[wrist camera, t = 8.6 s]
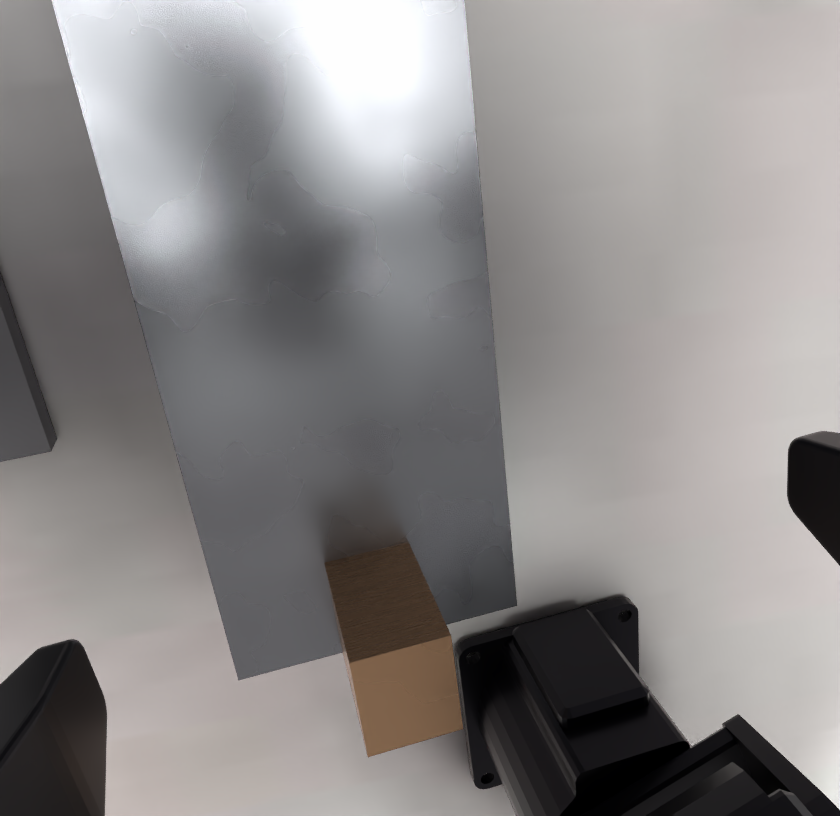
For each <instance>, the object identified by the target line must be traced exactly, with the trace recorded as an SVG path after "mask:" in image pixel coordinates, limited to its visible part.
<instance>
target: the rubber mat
mask: <svg viewBox="0 0 840 816" xmlns="http://www.w3.org/2000/svg"><path fill="white" fill-rule="evenodd" d="M56 440H57V438H56V435H55V432H54V429H53V426H52V423H51V420H50V417H49V414H48V411H47V408H46V405H45V402H44V400H43V397H42V394H41V391H40V388H39V385H38V382H37V379H36V376H35V373H34V370H33V367H32V364H31V361H30V358H29V356H28V353H27V350H26V347H25V344H24V341H23V338H22V335H21V332H20V329H19V326H18V323H17V320H16V317H15V314H14V312H13V309H12V306H11V303H10V300H9V297H8V294H7V291H6V288H5V285H4V282H3V279H2V276H1V273H0V462H2V461H6V460H11V459H16V458H21V457H26V456H31V455H36V454H41V453H46V452H50V451H52V448H53V446H54V444H55V442H56Z"/></svg>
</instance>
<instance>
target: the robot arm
mask: <svg viewBox="0 0 840 816" xmlns="http://www.w3.org/2000/svg"><path fill="white" fill-rule="evenodd" d="M787 497H788V501H789V504H790V507H791V509H792V510H793V512H794V513H795V515H796V516H797V517H798V518H799V519H800V521H801V522H802V523H803V524H804V525H805V526H806V527H807V529H808V530H809V531H810V532H811V533H812V534H813V535H814V537H815V538H816V539H817V540H818V541H819V542H820V544H821V545H822V546H823V547H824V548H825V549H826V550H827V552H828V553H829V554H830V555H831V556H832V557H833V558H834V560H835V561H836V562H837V563H838V564H839V565H840V433H835V432H827V431H821V432H815V433H812V434H808V435H805V436H801V437H798V438H796V439H794V440H793V441H792V442H791V444H790V446H789V449H788V476H787ZM624 610H625V611H624ZM622 611H624V613H623V614H621V615H619V614H620V613H621V612H622ZM471 652H476V653H475V654H474V655H472V656H470V657H467V655H468V654H469V653H471ZM455 656H456V664H457V671H458V679H459V687H460V695H461V702H462V710H463V718H464V725H465V733H466V741H467V749H468V756H469V764H470V772H471V776H472V778H473V781H474V783H475V786H476V787H478V788H479V789H488V788H492V787H495V786H498V785H501V784H503V786H504V788H505V790H506V793H507V795H508V797H509V800H510V802H511V804H512V807H513V809H514V811H515V814H516V816H840V810H839V809H838V808H837V807H836V806H835V805H834V804H833V803H832V802H831V801H830V800H829V799H828V798H827V797H826V796H825V795H824V794H823V793H822V792H821V791H820V790H819V789H818V788H817V787H816V786H815V785H814V784H813V783H812V782H811V781H810V780H808V779H807V778H806V777H805V776H804V775H803V774H802V773H801V772H800V771H799V770H798V769H797V768H796V767H795V766H793V765H792V764H791V763H790V762H789V761H788V760H787V759H786V758H785V757H784V756H783V755H782V754H781V753H780V752H778V751H777V750H776V749H775V748H774V747H773V746H772V745H771V744H770V743H769V742H768V741H767V740H766V739H764V738H763V737H762V736H761V735H760V734H759V733H758V732H757V731H756V730H755V729H754V728H753V727H752V726H751V725H749V724H748V723H747V722H746V721H745V720H744V719H743V718H742V717H741V716H740V715H739V714H737V715H736V716H734V717H733V718H731V719H729V720H728V721H726V722H724V723H723V724H722V725H723V728H721V729H720V730H718V731H717V732H715V733H713V734H712V735H710V736H708V737H707V738H705V739H704V740H702V741H700V742H699V743H697V744H695V745H694V746H691V745H690V743H689V742H688V741H687V739H686V738H685V737H684V735H683V734H682V733H681V731H680V730H679V729H678V727H677V726H676V725H675V723H674V722H673V721H672V719H671V718H670V717H669V715H668V714H667V713H666V711H665V710H664V709H663V707H662V706H661V705H660V703H659V702H658V701H657V699H656V698H655V697H654V695H653V694H652V693H651V691H650V690H649V689H648V687H647V685H646V684H645V683H644V681H643V680H642V679H641V677H640V676H639V638H638V609H637V607H636V606H635V605H634V604H633V603H632V601H631V600H630V599H629V598H626V597H619V598H615V599H611V600H608V601H604V602H600V603H597V604H593V605H589V606H586V607H582V608H578V609H575V610H571V611H567V612H564V613H560V614H556V615H553V616H549V617H545V618H542V619H538V620H534V621H531V622H527V623H523V624H520V625H516V626H512V627H509V628H505V629H501V630H498V631H494V632H490V633H487V634H483V635H479V636H476V637H472V638H468V639H466V640H464V641H462V642H461V643H460V644H459V645H458V646H457V648H456V652H455ZM106 738H107V710H106V703H105V699H104V695H103V693H102V690H101V688H100V685H99V683H98V680H97V678H96V676H95V673H94V671H93V668H92V666H91V664H90V661H89V659H88V656H87V654H86V652H85V649H84V647H83V646H82V645H81V643H80V642H79V641H77V640H75V639H70V640H66V641H62V642H59V643H55V644H52V645H48V646H44V647H41V648H39V649H37V650H36V651H35V652H34V653H33V654H32V655H31V656H30V657H29V658H28V659H27V660H25V661H24V662H23V663H22V664H21V665H20V666H19V667H18V668H17V669H16V670H15V671H14V672H13V673H12V674H11V675H10V676H9V677H8V678H7V679H6V680H4V681H3V682H2V683H1V684H0V816H105V783H106ZM486 773H487V774H486ZM484 774H485V775H484Z"/></svg>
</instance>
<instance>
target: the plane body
mask: <svg viewBox="0 0 840 816" xmlns="http://www.w3.org/2000/svg"><path fill="white" fill-rule="evenodd" d="M52 4H53V8H54V11H55V15H56V19H57V22H58V26H59V29H60V33H61V37H62V40H63V44H64V48H65V51H66V55H67V58H68V62H69V66H70V69H71V73H72V77H73V80H74V84H75V88H76V91H77V95H78V98H79V102H80V106H81V109H82V113H83V117H84V120H85V124H86V128H87V131H88V135H89V138H90V142H91V146H92V149H93V153H94V157H95V160H96V164H97V167H98V171H99V175H100V178H101V182H102V186H103V189H104V193H105V197H106V200H107V204H108V207H109V211H110V215H111V218H112V222H113V226H114V229H115V233H116V237H117V240H118V244H119V247H120V251H121V255H122V258H123V262H124V266H125V269H126V273H127V277H128V280H129V284H130V287H131V291H132V295H133V298H134V302H135V306H136V309H137V313H138V316H139V320H140V324H141V327H142V331H143V335H144V338H145V342H146V346H147V349H148V353H149V356H150V360H151V364H152V367H153V371H154V375H155V378H156V382H157V386H158V389H159V393H160V396H161V400H162V404H163V407H164V411H165V415H166V418H167V422H168V425H169V429H170V433H171V436H172V440H173V444H174V447H175V451H176V455H177V458H178V462H179V465H180V469H181V473H182V476H183V480H184V484H185V487H186V491H187V495H188V498H189V502H190V505H191V509H192V513H193V516H194V520H195V524H196V527H197V531H198V534H199V538H200V542H201V545H202V549H203V553H204V556H205V560H206V564H207V567H208V571H209V574H210V578H211V582H212V585H213V589H214V593H215V596H216V600H217V604H218V607H219V611H220V614H221V618H222V622H223V625H224V629H225V633H226V636H227V640H228V643H229V647H230V651H231V654H232V658H233V662H234V665H235V669H236V673H237V676H238V680H241V679H245V678H249V677H253V676H256V675H260V674H264V673H268V672H271V671H275V670H279V669H282V668H286V667H290V666H294V665H297V664H301V663H305V662H309V661H312V660H316V659H320V658H323V657H327V656H331V655H335V654H338V653H342V652H343V656H344V660H345V664H346V668H347V672H348V676H349V681H350V685H351V689H352V693H353V697H354V701H355V705H356V710H357V714H358V718H359V722H360V726H361V730H362V734H363V739H364V743H365V747H366V751H367V755H368V757H370V756H374V755H377V754H380V753H384V752H387V751H390V750H394V749H397V748H401V747H404V746H407V745H411V744H414V743H418V742H421V741H424V740H428V739H431V738H434V737H438V736H441V735H445V734H448V733H451V732H455V731H458V730H462V729H463V723H462V716H461V708H460V700H459V693H458V685H457V677H456V670H455V662H454V654H453V647H452V639H451V634H450V632H449V630H448V628H447V626H446V625H447V624H450V623H454V622H458V621H461V620H465V619H469V618H473V617H476V616H480V615H484V614H488V613H491V612H495V611H499V610H503V609H506V608H510V607H514V606H517V600H516V588H515V577H514V565H513V553H512V542H511V530H510V519H509V507H508V496H507V484H506V473H505V461H504V450H503V438H502V427H501V415H500V404H499V392H498V381H497V369H496V358H495V346H494V335H493V323H492V312H491V300H490V289H489V277H488V266H487V254H486V243H485V231H484V220H483V208H482V197H481V185H480V174H479V162H478V151H477V139H476V128H475V116H474V105H473V93H472V82H471V70H470V59H469V47H468V36H467V24H466V13H465V1H464V0H52Z"/></svg>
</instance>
